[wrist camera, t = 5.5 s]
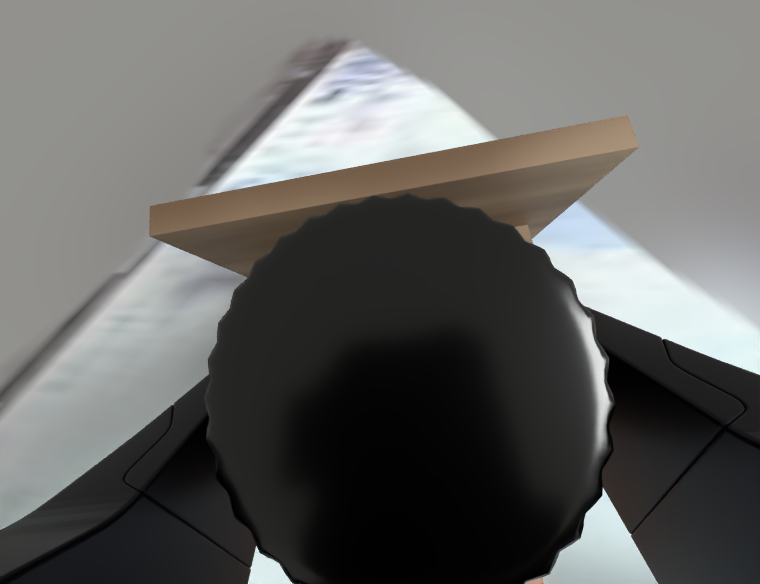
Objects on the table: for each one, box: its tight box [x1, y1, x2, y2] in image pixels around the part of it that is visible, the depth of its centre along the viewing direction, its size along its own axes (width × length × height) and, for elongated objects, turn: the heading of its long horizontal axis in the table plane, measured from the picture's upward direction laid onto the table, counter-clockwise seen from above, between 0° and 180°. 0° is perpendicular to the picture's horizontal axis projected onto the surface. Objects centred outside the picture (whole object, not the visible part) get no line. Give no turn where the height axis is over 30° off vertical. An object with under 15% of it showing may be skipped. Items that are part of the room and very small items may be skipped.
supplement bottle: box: [204, 193, 616, 584], centre depth 9 cm, size 7×7×12 cm
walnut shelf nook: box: [149, 115, 639, 277], centre depth 14 cm, size 7×17×9 cm, turn 98°
